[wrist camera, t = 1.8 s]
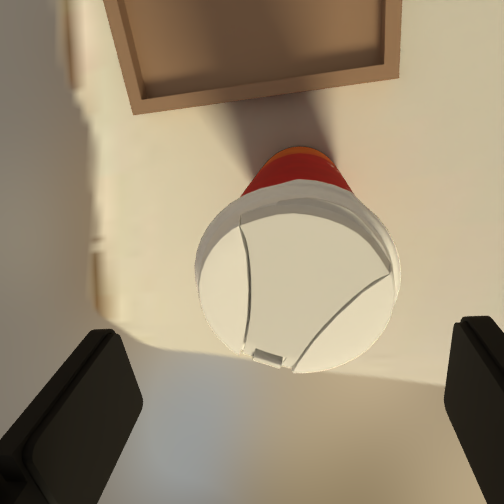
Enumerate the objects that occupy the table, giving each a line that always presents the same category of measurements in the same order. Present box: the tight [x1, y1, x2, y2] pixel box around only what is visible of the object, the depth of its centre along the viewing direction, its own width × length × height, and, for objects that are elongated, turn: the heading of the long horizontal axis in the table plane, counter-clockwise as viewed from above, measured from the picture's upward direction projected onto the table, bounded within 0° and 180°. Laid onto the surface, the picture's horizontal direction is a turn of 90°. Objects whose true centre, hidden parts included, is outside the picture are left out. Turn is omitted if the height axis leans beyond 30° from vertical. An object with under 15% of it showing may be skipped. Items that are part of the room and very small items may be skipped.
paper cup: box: [195, 147, 401, 373], centre depth 18 cm, size 8×8×14 cm
